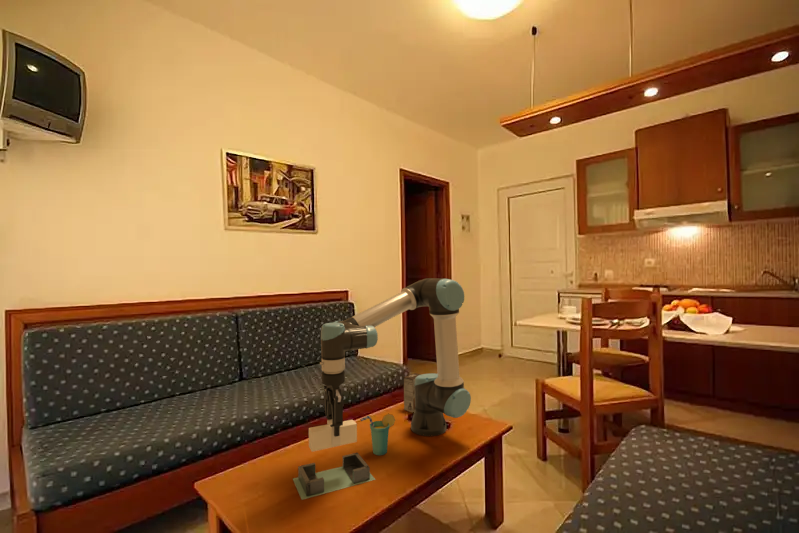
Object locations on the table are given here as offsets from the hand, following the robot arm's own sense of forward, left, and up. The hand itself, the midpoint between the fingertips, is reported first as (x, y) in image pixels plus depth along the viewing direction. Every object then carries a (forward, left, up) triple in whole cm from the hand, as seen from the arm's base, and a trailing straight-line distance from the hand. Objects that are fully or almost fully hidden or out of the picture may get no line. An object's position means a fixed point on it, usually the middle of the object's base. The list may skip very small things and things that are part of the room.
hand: (333, 441), depth 129 cm
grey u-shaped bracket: (-8, 0, -12) cm, 14 cm away
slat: (0, 0, -1) cm, 1 cm away
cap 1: (+8, 0, -12) cm, 14 cm away
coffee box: (-54, -43, -13) cm, 70 cm away
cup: (-20, -10, -13) cm, 26 cm away
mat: (0, 0, -13) cm, 13 cm away
